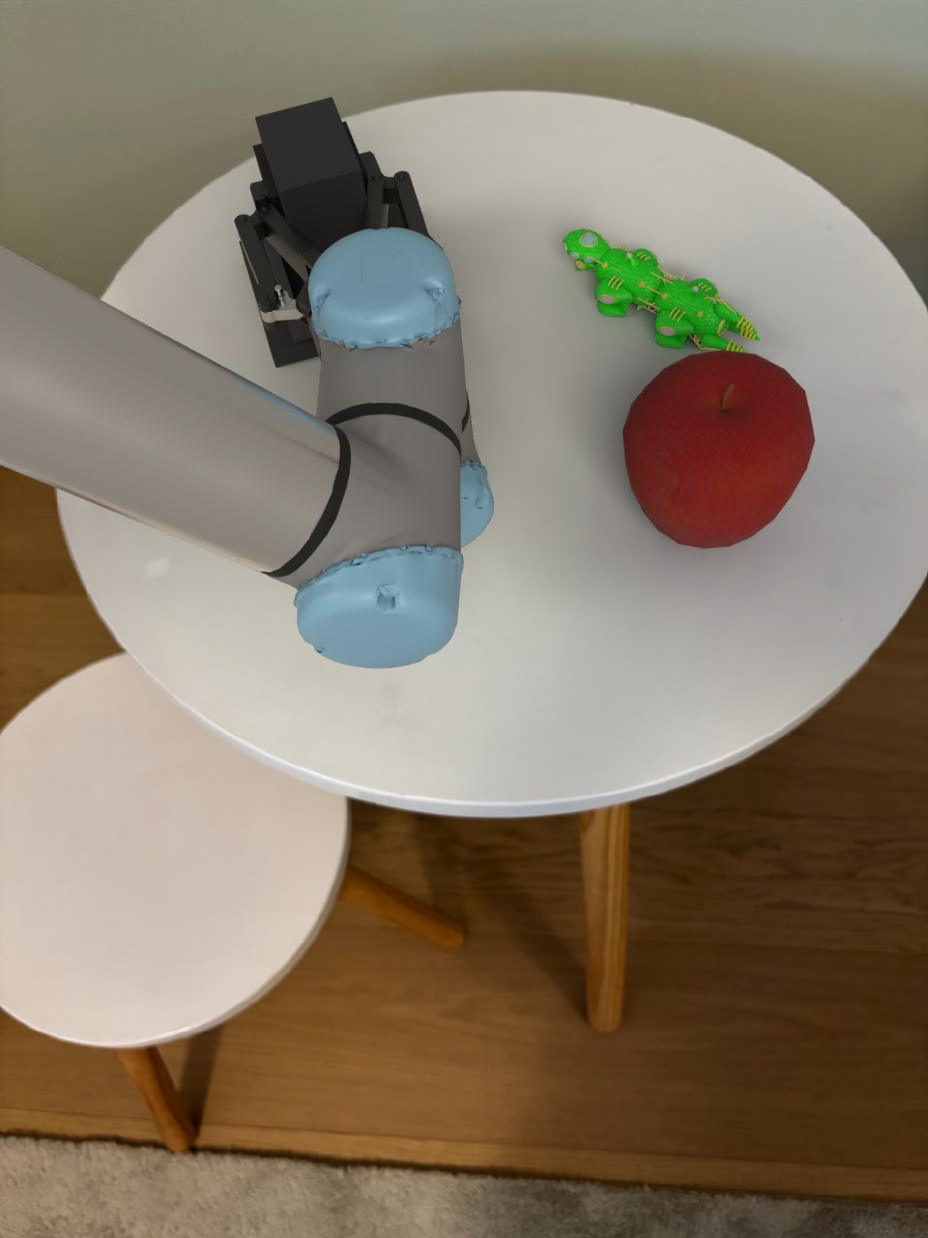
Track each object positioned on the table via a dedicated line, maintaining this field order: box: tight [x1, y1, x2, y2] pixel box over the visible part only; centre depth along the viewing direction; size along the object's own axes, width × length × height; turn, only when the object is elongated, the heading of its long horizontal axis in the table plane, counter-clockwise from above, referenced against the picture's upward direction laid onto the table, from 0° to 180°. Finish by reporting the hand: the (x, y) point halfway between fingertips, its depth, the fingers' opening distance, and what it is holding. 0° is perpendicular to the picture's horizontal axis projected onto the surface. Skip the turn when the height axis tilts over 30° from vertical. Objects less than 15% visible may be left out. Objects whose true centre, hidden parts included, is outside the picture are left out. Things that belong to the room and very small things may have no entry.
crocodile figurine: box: [561, 228, 761, 353], centre depth 81 cm, size 7×18×4 cm, turn 49°
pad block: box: [254, 96, 367, 284], centre depth 79 cm, size 6×9×10 cm, turn 17°
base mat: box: [239, 203, 405, 368], centre depth 85 cm, size 14×14×4 cm
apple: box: [621, 350, 816, 549], centre depth 67 cm, size 12×12×13 cm
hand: (303, 148), depth 81 cm, fingers closed on pad block, 6 cm apart
